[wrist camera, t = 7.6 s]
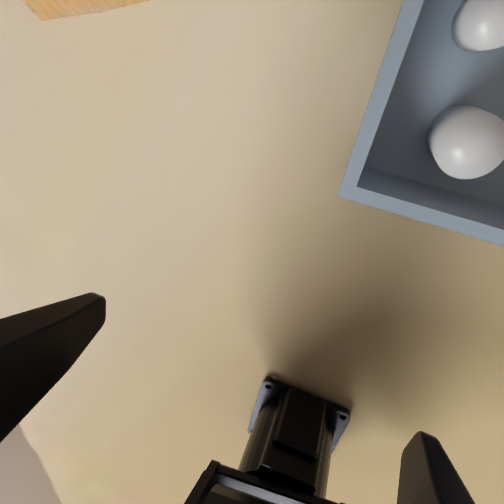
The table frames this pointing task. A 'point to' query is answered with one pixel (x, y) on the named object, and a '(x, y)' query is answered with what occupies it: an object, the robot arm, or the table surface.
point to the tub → (437, 120)
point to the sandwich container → (73, 7)
